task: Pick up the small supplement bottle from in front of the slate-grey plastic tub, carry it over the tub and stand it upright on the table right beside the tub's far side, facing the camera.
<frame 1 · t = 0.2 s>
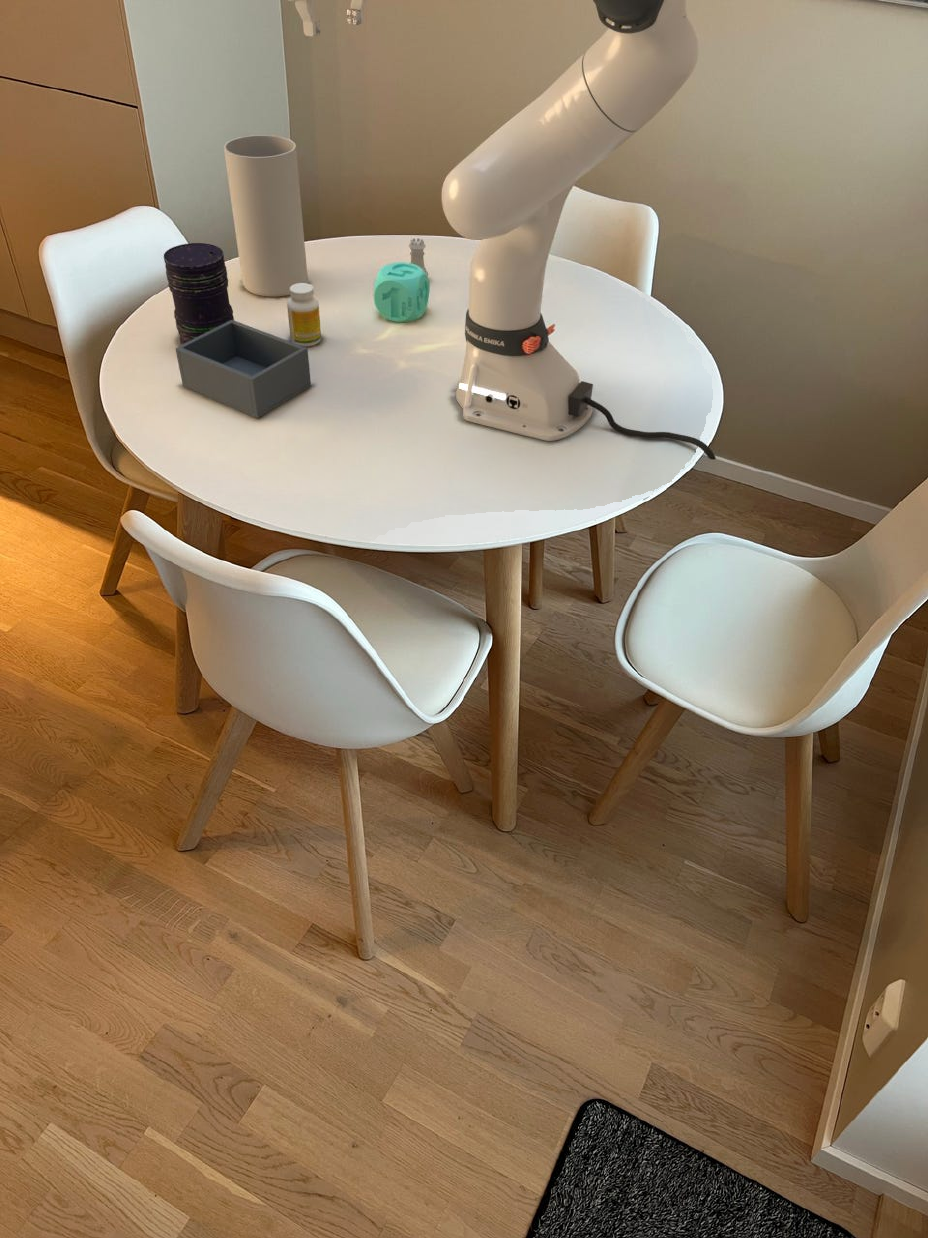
hand: (334, 29, 131), 48 cm above the table, tool pointing down, fingers open, 8 cm apart
tub: (247, 386, 152), on the table
storage jar: (208, 339, 163), on the table
supplement bottle: (306, 341, 164), on the table
cylinder vase: (275, 285, 180), on the table
rook chess piece: (417, 282, 183), on the table
decorative dice: (402, 313, 173), on the table
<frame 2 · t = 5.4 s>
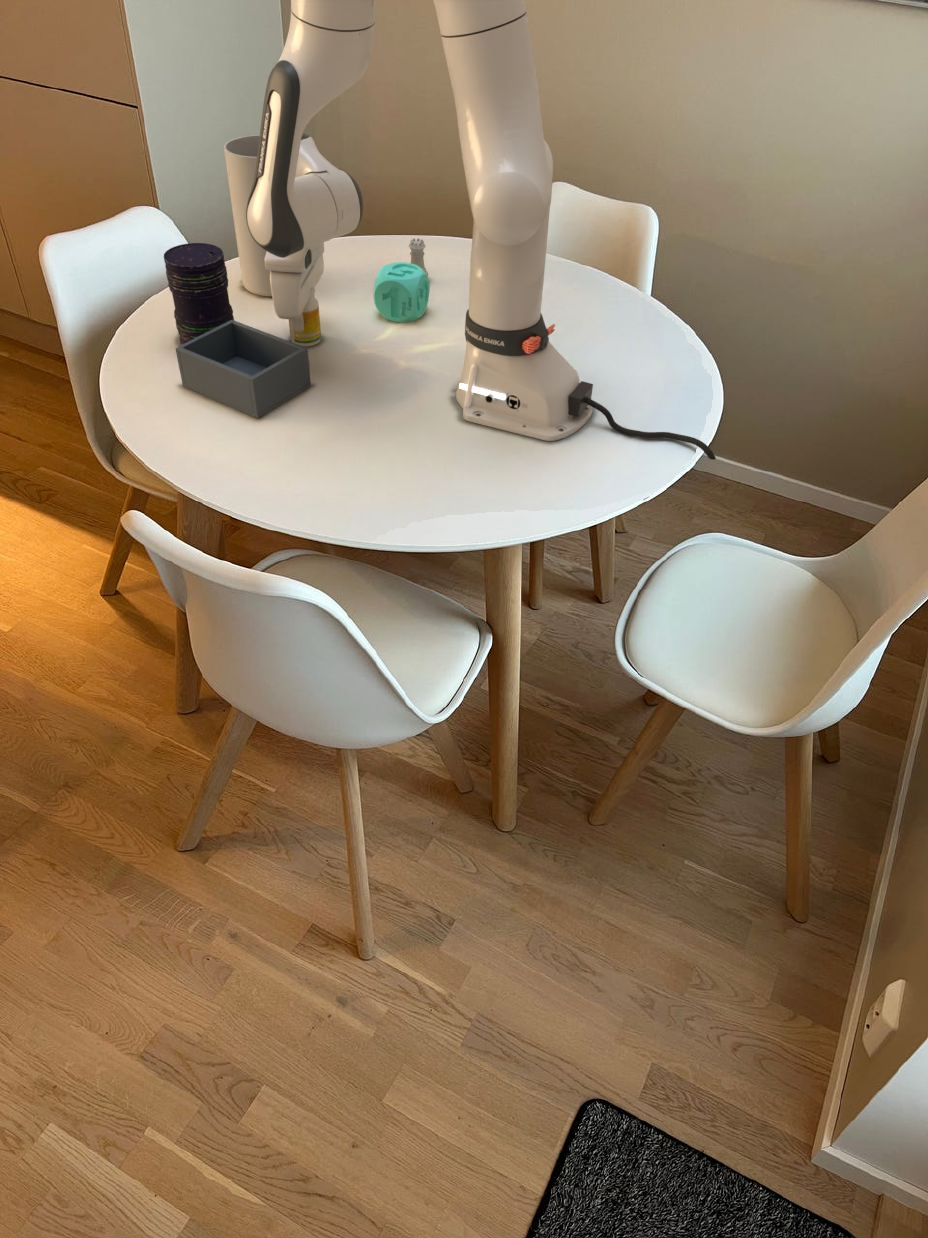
hand: (304, 320, 161), 4 cm above the table, tool pointing down, fingers closed on supplement bottle, 5 cm apart
supplement bottle: (306, 341, 164), on the table, touching gripper
everything else where it was.
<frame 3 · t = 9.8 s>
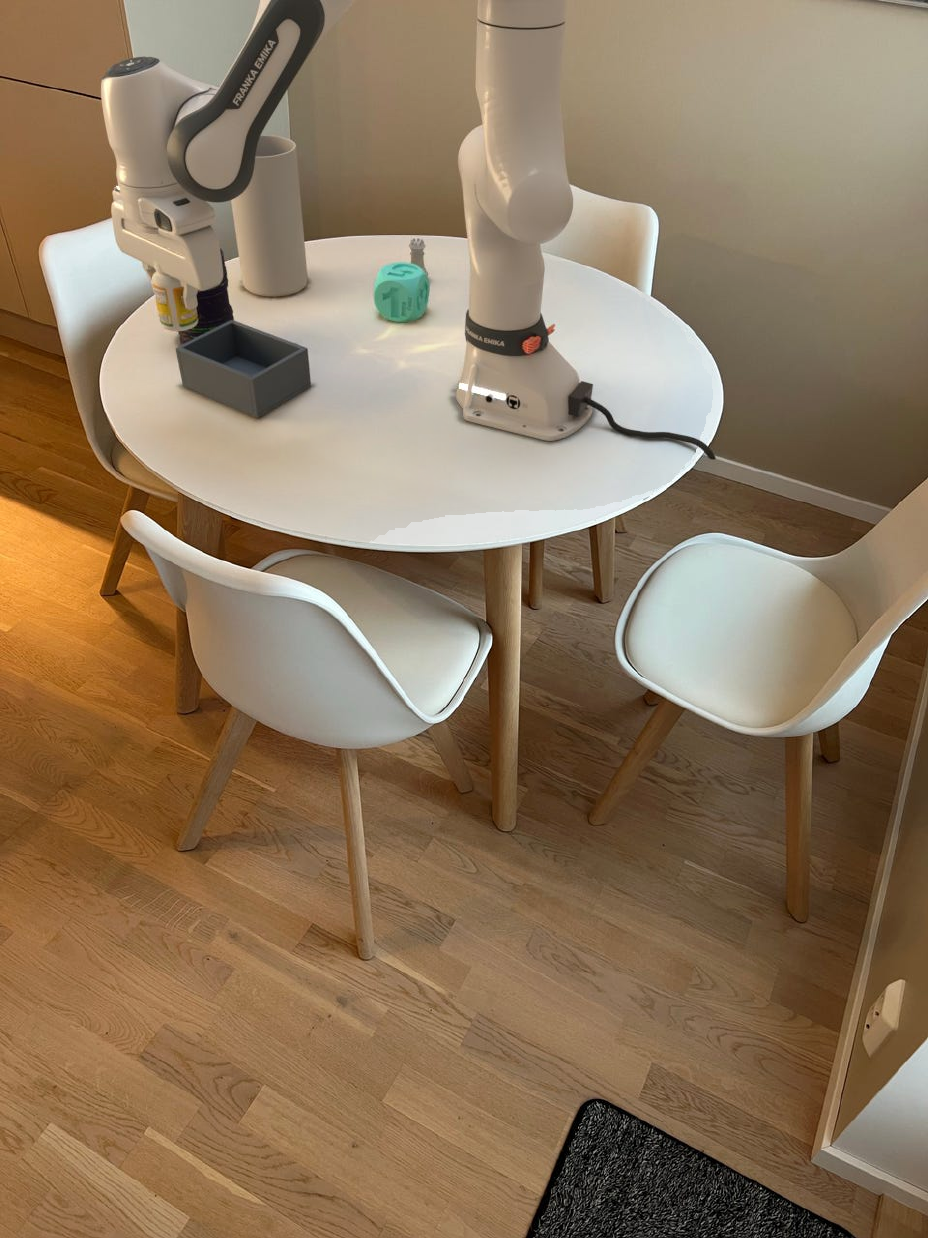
hand: (175, 299, 132), 19 cm above the table, tool pointing down, fingers closed on supplement bottle, 5 cm apart
supplement bottle: (180, 325, 135), point 15 cm above the table, touching gripper
everything else where it was.
when the fingers open (3 cm above the table, at t = 14.3 s): supplement bottle stays where it is, on the table.
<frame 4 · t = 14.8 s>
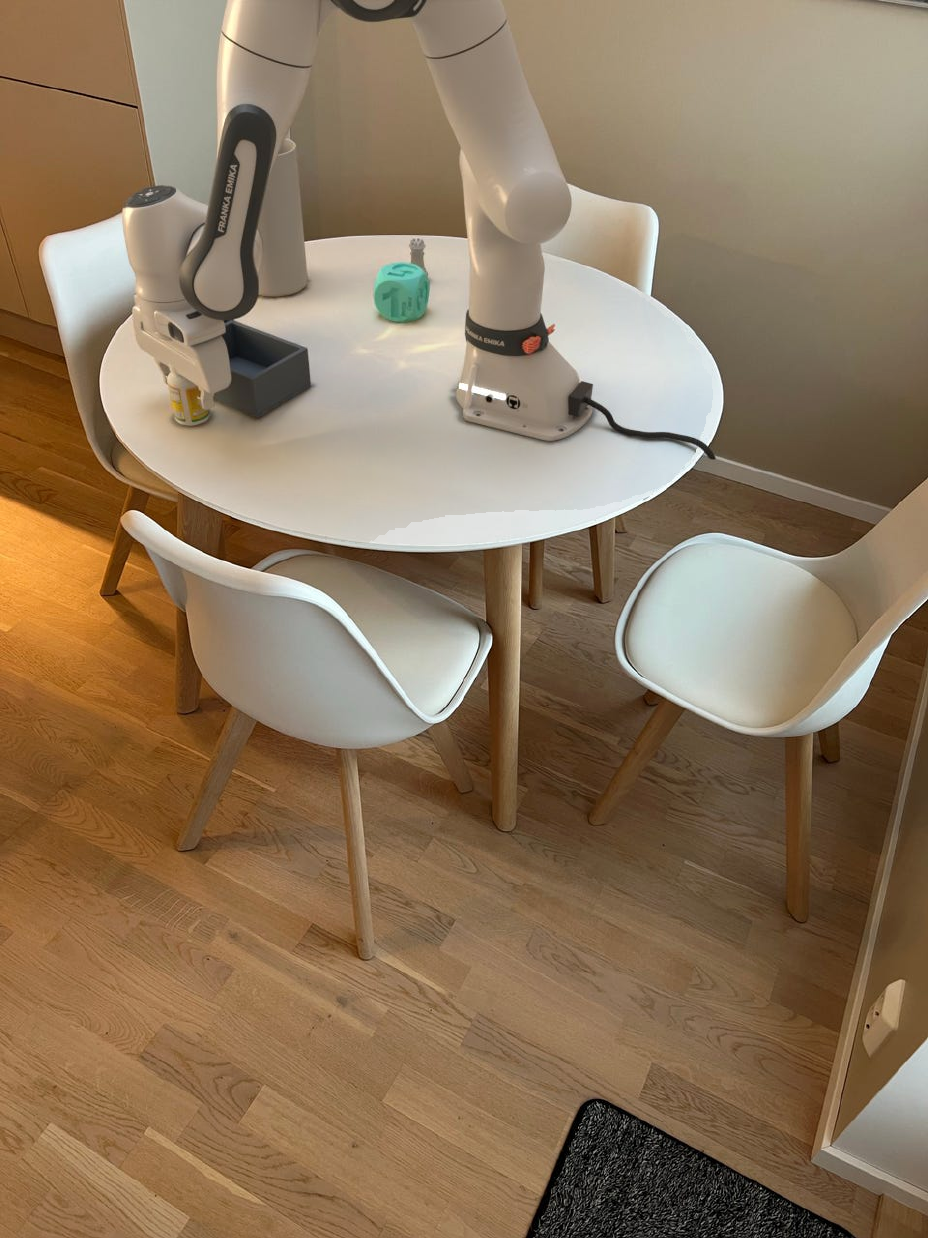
hand: (189, 395, 142), 4 cm above the table, tool pointing down, fingers open, 8 cm apart
supplement bottle: (193, 418, 144), on the table
everything else where it was.
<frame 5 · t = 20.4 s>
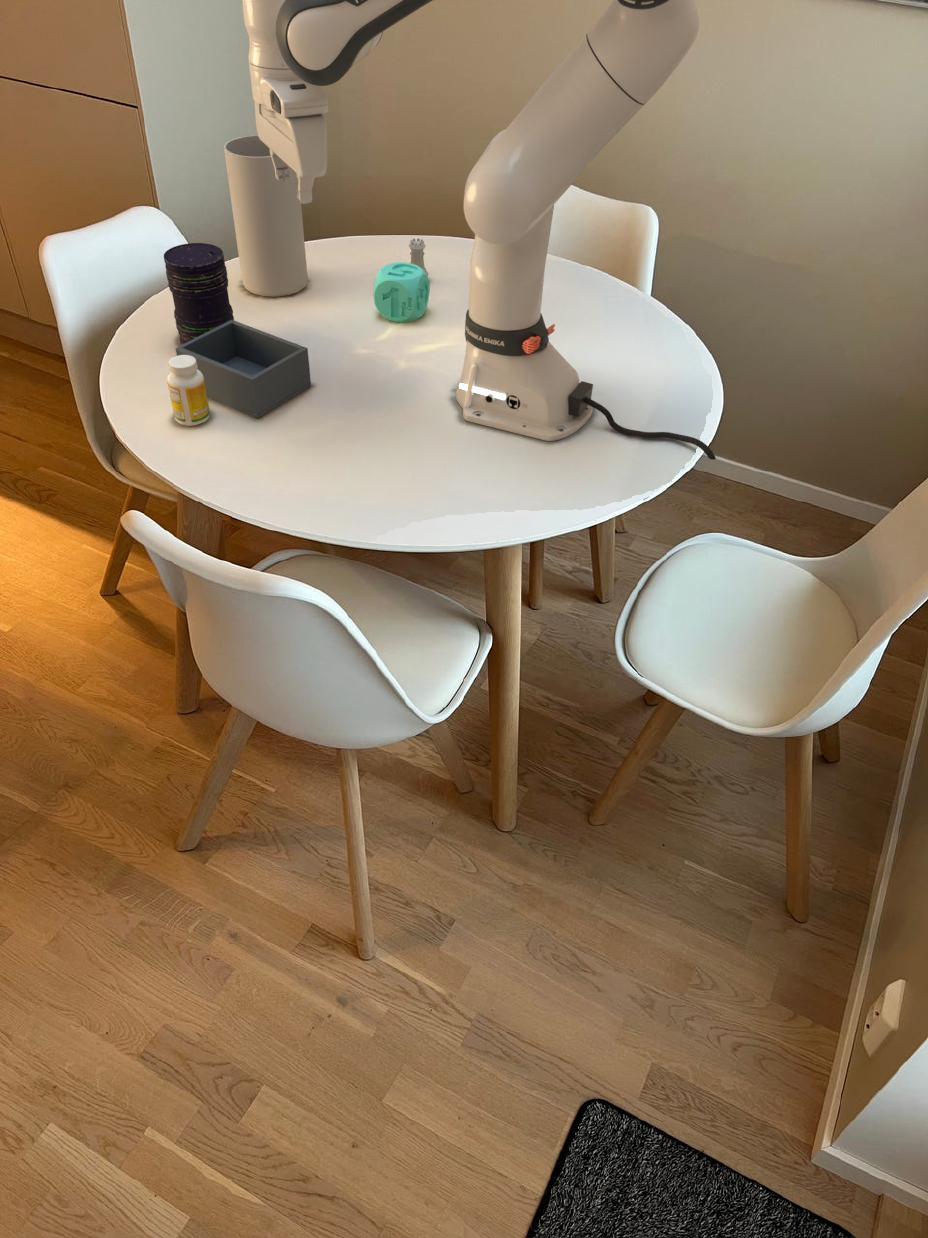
hand: (293, 190, 136), 29 cm above the table, tool pointing down, fingers open, 8 cm apart
nothing on the table moved.
at the end: supplement bottle inside the target area on the table beside the tub (0.8 cm from its centre), on the table; supplement bottle tilted 0°; the gripper is holding nothing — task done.
